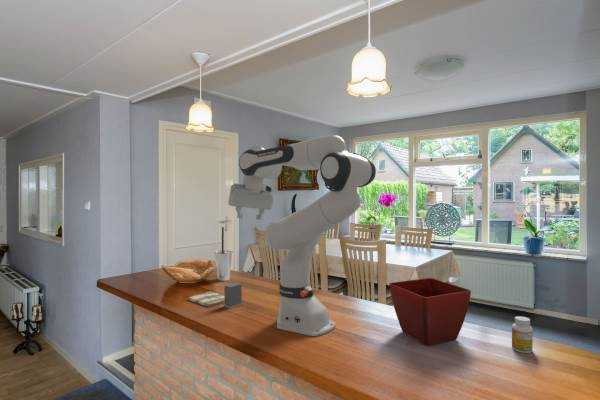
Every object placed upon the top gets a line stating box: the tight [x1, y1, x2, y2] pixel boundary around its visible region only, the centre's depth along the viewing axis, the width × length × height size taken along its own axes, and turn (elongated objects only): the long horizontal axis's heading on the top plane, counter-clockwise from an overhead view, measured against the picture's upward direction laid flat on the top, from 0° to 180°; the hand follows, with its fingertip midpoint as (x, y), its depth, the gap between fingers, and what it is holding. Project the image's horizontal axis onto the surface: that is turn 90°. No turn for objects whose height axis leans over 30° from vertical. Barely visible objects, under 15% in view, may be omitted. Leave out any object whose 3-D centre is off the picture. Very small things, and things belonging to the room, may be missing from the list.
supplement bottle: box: [511, 316, 534, 354], centre depth 109 cm, size 5×5×10 cm
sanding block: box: [223, 282, 243, 309], centre depth 152 cm, size 4×6×9 cm
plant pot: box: [388, 277, 472, 346], centre depth 119 cm, size 19×19×17 cm
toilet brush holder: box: [214, 226, 234, 282], centre depth 196 cm, size 11×11×30 cm
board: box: [187, 290, 225, 308], centre depth 160 cm, size 16×12×1 cm
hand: (249, 218), depth 148 cm, fingers open, 8 cm apart
